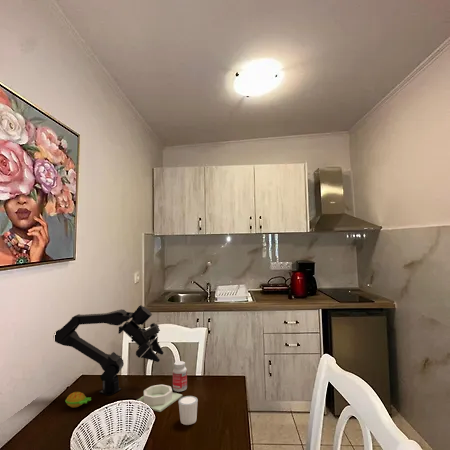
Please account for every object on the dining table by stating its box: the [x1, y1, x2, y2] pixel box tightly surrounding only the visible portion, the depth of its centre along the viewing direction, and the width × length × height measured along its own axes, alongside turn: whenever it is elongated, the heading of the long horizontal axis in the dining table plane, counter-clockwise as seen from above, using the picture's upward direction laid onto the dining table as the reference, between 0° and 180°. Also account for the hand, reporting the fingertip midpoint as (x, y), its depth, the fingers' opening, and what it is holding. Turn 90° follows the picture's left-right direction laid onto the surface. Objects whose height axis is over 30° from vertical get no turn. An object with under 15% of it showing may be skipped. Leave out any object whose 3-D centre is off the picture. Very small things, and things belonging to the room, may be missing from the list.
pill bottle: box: [172, 360, 188, 393], centre depth 138 cm, size 6×6×11 cm
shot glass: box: [178, 395, 199, 426], centre depth 113 cm, size 7×7×7 cm
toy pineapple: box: [64, 391, 92, 409], centre depth 125 cm, size 7×10×5 cm
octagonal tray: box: [136, 384, 183, 413], centre depth 128 cm, size 14×14×4 cm
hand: (161, 357), depth 138 cm, fingers open, 9 cm apart
